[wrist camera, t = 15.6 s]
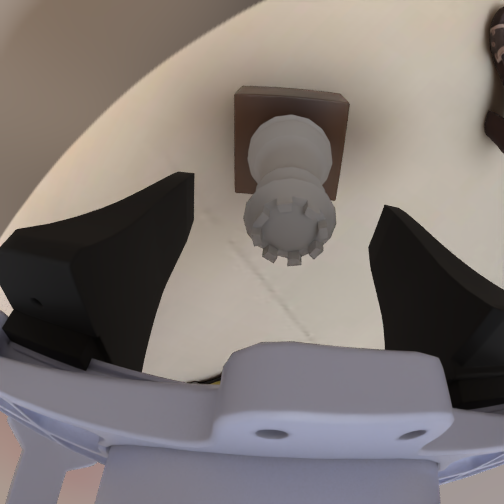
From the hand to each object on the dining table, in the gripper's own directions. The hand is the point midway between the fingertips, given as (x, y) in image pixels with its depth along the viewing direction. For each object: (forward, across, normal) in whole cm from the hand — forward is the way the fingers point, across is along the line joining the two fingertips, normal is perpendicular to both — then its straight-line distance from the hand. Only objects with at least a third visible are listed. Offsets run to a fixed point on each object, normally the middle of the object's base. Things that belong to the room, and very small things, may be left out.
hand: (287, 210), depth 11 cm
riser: (+9, 0, 0) cm, 9 cm away
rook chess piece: (+7, 0, 0) cm, 7 cm away
